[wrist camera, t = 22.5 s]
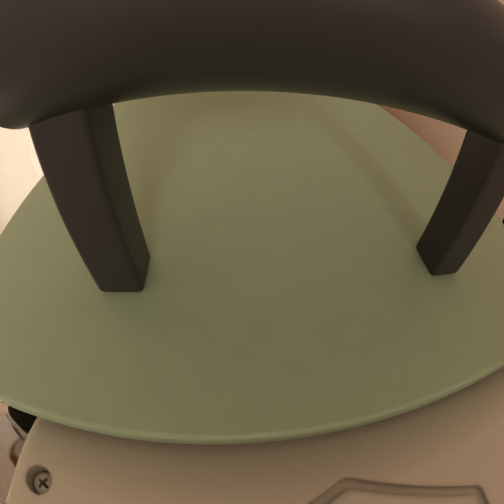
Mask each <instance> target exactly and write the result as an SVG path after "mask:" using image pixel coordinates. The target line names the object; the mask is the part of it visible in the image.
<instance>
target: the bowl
mask: <svg viewBox="0 0 504 504" xmlns="http://www.w3.org/2000/svg"><path fill="white" fill-rule="evenodd" d="M114 104H115V103H114ZM114 104H113V105H114ZM43 175H44V174H43V171H42V169H41V166H40V163H39V160H38V157H37V154H36V151H35V148H34V145H33V142H32V138H31V135H30V132H29V128H24V129H14V130H12V129H6V128H2V127H0V235H1V233H2V232H3V230H4V228H5V227H6V225H7V224H8V222H9V221H10V219H11V218H12V216H13V215H14V213H15V212H16V211H17V209H18V208H19V206H20V205H21V204H22V202H23V201H24V199H25V198H26V197H27V195H28V194H29V193H30V191H31V190H32V189H33V188H34V186H35V185H36V184H37V183H38V181H39V180H40V179H41V178H42V176H43Z"/></svg>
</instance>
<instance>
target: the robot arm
mask: <svg viewBox="0 0 504 504" xmlns="http://www.w3.org/2000/svg"><path fill="white" fill-rule="evenodd" d="M8 410H9V413H8V414H7V415H6V414H5V413H4V412H3V413H2V414H0V503H1V504H504V367H502V368H500V369H499V370H497V371H495V372H494V373H492V374H490V375H488V376H487V377H485V378H483V379H481V380H479V381H477V382H475V383H474V384H472V385H470V386H468V387H466V388H464V389H462V390H459V391H457V392H455V393H453V394H451V395H449V396H446V397H444V398H442V399H439V400H437V401H435V402H432V403H430V404H427V405H425V406H422V407H420V408H417V409H414V410H412V411H409V412H406V413H403V414H400V415H397V416H394V417H391V418H388V419H384V420H381V421H378V422H374V423H371V424H367V425H363V426H359V427H355V428H351V429H347V430H343V431H338V432H333V433H329V434H323V435H318V436H312V437H306V438H300V439H293V440H285V441H276V442H266V443H253V444H234V445H192V444H173V443H160V442H150V441H142V440H134V439H127V438H121V437H115V436H109V435H104V434H99V433H94V432H90V431H85V430H81V429H77V428H73V427H70V426H66V425H62V424H59V423H55V422H52V421H49V420H46V419H43V418H40V417H37V416H34V415H31V414H28V413H26V412H23V411H20V410H18V409H15V408H13V407H10V406H9V407H8Z"/></svg>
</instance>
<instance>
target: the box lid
mask: <svg viewBox="0 0 504 504" xmlns="http://www.w3.org/2000/svg"><path fill="white" fill-rule="evenodd" d="M114 103H115V104H114ZM113 104H114V105H113ZM377 104H378V105H383V106H388V107H392V108H397V109H401V110H405V111H409V112H413V113H417V114H420V115H424V116H427V117H431V118H434V119H437V120H440V121H443V122H446V123H450V124H453V125H455V126H458V127H461V128H464V129H467V132H466V135H465V139H464V141H463V144H462V147H461V149H460V152H459V155H458V157H457V160H456V162H455V165H454V167H452V166H451V165H450V164H449V163H448V162H447V161H446V160H445V159H444V158H443V157H442V156H441V155H440V154H438V153H437V152H436V151H435V150H434V149H433V148H432V147H431V146H430V145H428V144H427V143H426V142H425V141H424V140H423V139H421V138H420V137H419V136H418V135H416V134H415V133H414V132H413V131H412V130H410V129H409V128H408V127H407V126H406V125H404V124H403V123H402V122H400V121H399V120H398V119H396V118H395V117H394V116H392V115H391V114H390V113H388V112H387V111H386V110H384V109H383V108H381V107H380V106H378V105H377ZM0 127H2V128H6V129H12V130H14V129H24V128H29V132H30V135H31V138H32V142H33V145H34V148H35V151H36V154H37V157H38V160H39V163H40V166H41V169H42V171H43V174H44V175H43V176H42V178H41V179H40V180H39V181H38V183H37V184H36V185H35V186H34V188H33V189H32V190H31V191H30V193H29V194H28V195H27V197H26V198H25V199H24V201H23V202H22V204H21V205H20V206H19V208H18V209H17V211H16V212H15V213H14V215H13V216H12V218H11V219H10V221H9V222H8V224H7V225H6V227H5V228H4V230H3V232H2V233H1V235H0V402H1V403H3V404H6V405H8V406H10V407H13V408H15V409H18V410H20V411H23V412H26V413H28V414H31V415H34V416H37V417H40V418H43V419H46V420H49V421H52V422H55V423H59V424H62V425H66V426H70V427H73V428H77V429H81V430H85V431H90V432H94V433H99V434H104V435H109V436H115V437H121V438H127V439H134V440H142V441H150V442H160V443H173V444H192V445H234V444H253V443H266V442H276V441H285V440H293V439H300V438H306V437H312V436H318V435H323V434H329V433H333V432H338V431H343V430H347V429H351V428H355V427H359V426H363V425H367V424H371V423H374V422H378V421H381V420H384V419H388V418H391V417H394V416H397V415H400V414H403V413H406V412H409V411H412V410H414V409H417V408H420V407H422V406H425V405H427V404H430V403H432V402H435V401H437V400H439V399H442V398H444V397H446V396H449V395H451V394H453V393H455V392H457V391H459V390H462V389H464V388H466V387H468V386H470V385H472V384H474V383H475V382H477V381H479V380H481V379H483V378H485V377H487V376H488V375H490V374H492V373H494V372H495V371H497V370H499V369H500V368H502V367H504V224H503V223H502V222H501V221H500V219H499V218H498V217H497V215H496V214H495V212H496V210H497V208H498V207H499V205H500V203H501V201H502V199H503V197H504V5H503V4H502V3H500V2H499V1H498V0H0Z"/></svg>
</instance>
